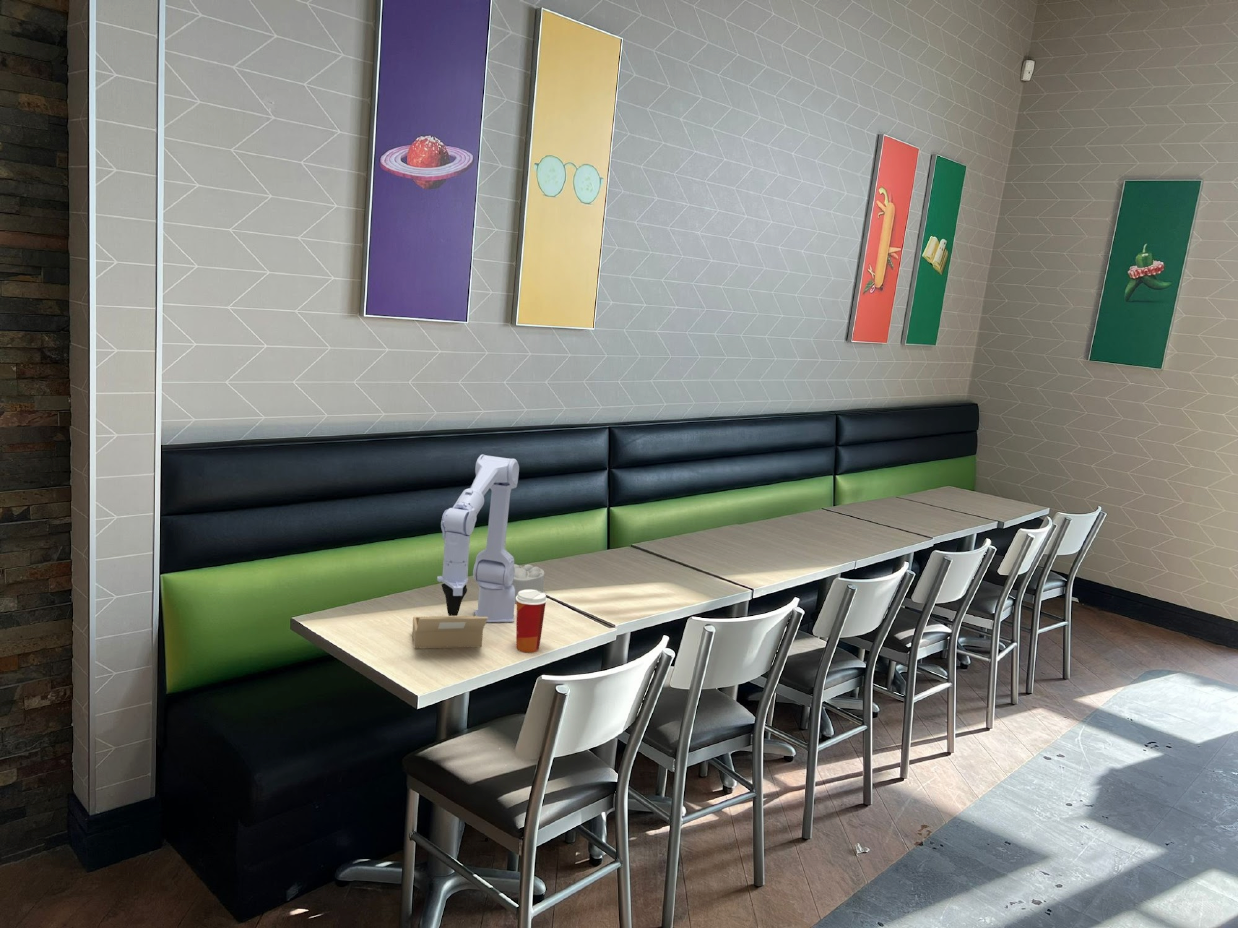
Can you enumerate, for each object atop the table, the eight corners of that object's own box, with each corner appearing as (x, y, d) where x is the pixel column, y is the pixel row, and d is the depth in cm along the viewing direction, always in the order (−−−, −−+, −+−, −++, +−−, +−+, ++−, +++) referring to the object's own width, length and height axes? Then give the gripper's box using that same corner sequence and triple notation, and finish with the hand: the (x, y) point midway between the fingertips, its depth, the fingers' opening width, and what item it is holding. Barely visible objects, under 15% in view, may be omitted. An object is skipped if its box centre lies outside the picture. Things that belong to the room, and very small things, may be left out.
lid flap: (487, 616, 214) (487, 618, 214) (482, 629, 221) (482, 631, 221) (419, 617, 209) (419, 619, 209) (416, 630, 217) (416, 632, 217)
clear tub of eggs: (494, 596, 258) (496, 567, 257) (524, 586, 269) (526, 558, 267) (521, 606, 252) (523, 576, 251) (551, 596, 263) (554, 567, 261)
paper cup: (527, 639, 229) (531, 586, 227) (549, 649, 225) (554, 595, 222) (505, 647, 223) (508, 592, 221) (527, 657, 219) (531, 601, 216)
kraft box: (477, 632, 231) (478, 615, 230) (481, 646, 222) (482, 629, 222) (412, 633, 226) (413, 616, 225) (414, 648, 218) (415, 630, 217)
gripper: (435, 549, 218) (432, 603, 220) (441, 569, 204) (438, 626, 207) (465, 550, 220) (462, 603, 222) (473, 569, 206) (469, 626, 209)
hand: (452, 614), depth 214 cm, fingers closed
